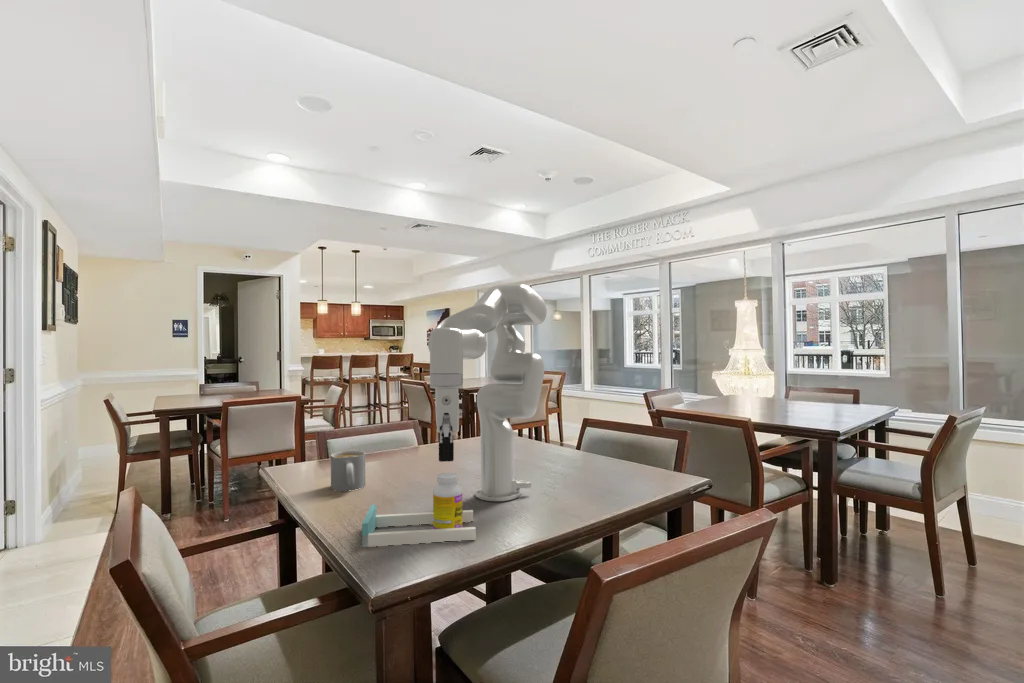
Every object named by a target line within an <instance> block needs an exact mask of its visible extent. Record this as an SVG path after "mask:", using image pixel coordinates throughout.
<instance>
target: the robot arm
mask: <svg viewBox="0 0 1024 683" xmlns="http://www.w3.org/2000/svg"><path fill="white" fill-rule="evenodd" d="M547 313H548V310H547V305H546V302H545V300H544V299H543V298H542V296H541V295H540V294H538V293H537V292H536V291H535V289H533V288H532V287H531V286H529V285H526V284H524V283H516V284H515V283H514V284H499V285H494V286H492V287H489V288H488V289H487V290H486V291H485V292H484V293H483V294H482V295H481V297H479V299H478V300H477V301H476V302H475V303H474V304H473V305H472V306H470V307H468V308H465V309H463V310H460V311H459V312H456V313H454V314H451V315H450V316H448V317H446V318H444V319H443V320H442V321H441V322H439V323H438V325H437V326H435V328H433V329H432V330H431V331H430V334H429V337H428V341H427V342H428V344H427V347H428V352H429V389H434V402H435V403H434V404H435V405H434V407H435V423H436V424H435V425H436V431H437V433H439V442H438V461H439V462H441V463H442V462H453V461H454V460H455V458H454V456H455V455H454V452H455V451H454V448H455V447H454V446H455V444H454V443H455V442H454V434H453V431H455V433H458V432H459V431H460V397H459V396H460V393H459V389H462V388H464V360H475V359H479V358H481V357H482V356H483V355H484V353H485V352H486V350H487V343H488V342H487V339H486V336H485V334H487V333H489V332H492V331H494V330H495V331H496V336H497V344H496V349H495V352H494V356H493V359H492V362H491V366H490V378H491V380H492V381H493V382H494V383H488V384H485V385H483V386H481V387H480V388H479V390H478V391H477V394H476V405H477V406H476V407H477V412H478V416H479V418H478V419H479V429H480V434H479V435H480V487H479V488H477V489H476V490H475V497H476V498H477V499H479V500H481V501H486V502H507V501H512V500H514V499H517V498H519V497H520V495H521V491H520V490H521V489H531V488H532V483H531V480H529V481H526V480H525V479H523V480H522V479H521V480H518V479H516V477H515V433H514V430H513V426H512V425H511V423H510V422H509V420H508V419H524V420H525V419H526V420H527V419H531V418H533V417H534V416H535V414H536V412H537V410H538V406H539V402H540V397H541V393H542V387H543V383H544V382H543V381H544V377H545V363H544V359H543V358H542V356H540V355H539V354H538V353H535V352H525V349H526V342H525V340H524V337H523V336H522V334H521V333H520V332H519V331H518V330H517V329H516V327H515V326H534V325H535V326H537V325H541V324H543V322H544V321H545V320H546V318H547Z"/></svg>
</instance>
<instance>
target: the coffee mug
mask: <svg viewBox="0 0 1024 683" xmlns="http://www.w3.org/2000/svg"><path fill="white" fill-rule="evenodd" d="M364 486H365V487H366V452H365V451H363V450H344V451H338V452H335V453H332V454H330V490H331V489H332V490H331V491H333V490H336V491H335V492H337V491H349V490H355V489H359V488H362V487H364ZM365 487H364V488H365ZM362 489H363V488H362ZM359 490H360V489H359ZM355 491H356V490H355ZM349 492H350V491H349Z"/></svg>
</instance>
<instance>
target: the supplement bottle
mask: <svg viewBox="0 0 1024 683" xmlns="http://www.w3.org/2000/svg"><path fill="white" fill-rule="evenodd" d="M458 481H459V474H458V473H455V472H443V473H439V474H438V475H437V482H438V484H437V485H436V486H435V487H434V488H433V492H432V495H433V496H432V499H433V501H432V502H433V504H432V512H433V524H432V529H447V528H463V521H462V510H463V488H462V486H461V485H459V484H458Z"/></svg>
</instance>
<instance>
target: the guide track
mask: <svg viewBox="0 0 1024 683" xmlns="http://www.w3.org/2000/svg"><path fill="white" fill-rule="evenodd" d="M377 509H378V507H377V504H371V505H370V507H369V509H368V511H367V512H366V515H365V517H364V519H363V521H362V523H361V543H362V544H361V546H362V547H361V548H376V546H378V547H389V546H388V545H394V546H403V545H402V544H410V545H419V543H426V544H432V543H431V542H442V543H444V542H443V541H457V540H458V542H462V541H461V540H474V541H476V540H477V533H476V532H477V530H476V526H467V527H466V526H465V527H462V528H447V529H433V528H432V529H420V530H419V529H417V530H415V529H414V530H400V531H399V530H398V531H396V530H395V531H383V532H376V529H375V528H376V527H378V528H389V527H388V526H395V527H408V526H407V525H412V526H422V525H421V524H430V525H433V511H429V512H409V513H393V514H391V513H389V514H377V513H378V512H377ZM462 521H463V522H465V523H472V522H471V521H473V522H474V510H473V509H466V510H465V509H464V510H463V509H462ZM419 524H420V525H419Z"/></svg>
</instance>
